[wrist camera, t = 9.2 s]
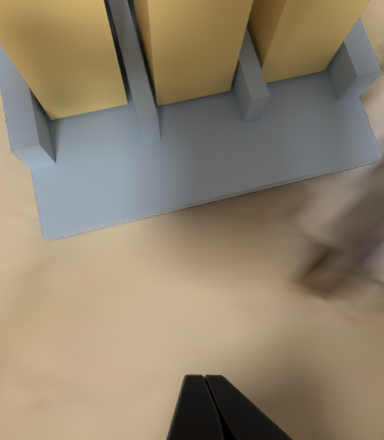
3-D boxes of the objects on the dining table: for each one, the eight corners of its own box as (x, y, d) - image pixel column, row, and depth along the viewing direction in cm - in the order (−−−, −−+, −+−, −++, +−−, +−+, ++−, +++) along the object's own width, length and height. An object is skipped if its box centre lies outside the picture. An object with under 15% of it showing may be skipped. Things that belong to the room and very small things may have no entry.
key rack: (373, 163, 23) (428, 124, 18) (49, 241, 21) (9, 222, 16) (302, -23, 25) (332, -100, 21) (10, 30, 23) (-33, -41, 19)
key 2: (127, 104, 21) (91, -53, 12) (51, 119, 21) (-50, -30, 11) (110, 31, 22) (63, -166, 13) (36, 45, 22) (-67, -149, 12)
